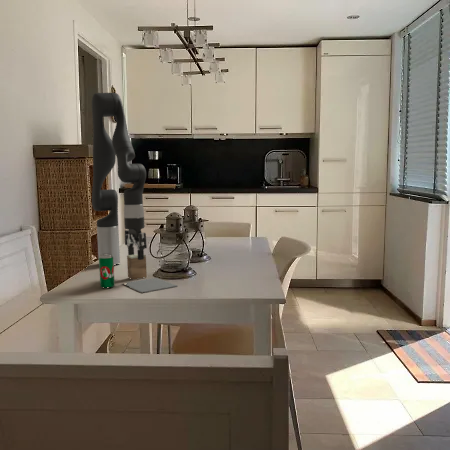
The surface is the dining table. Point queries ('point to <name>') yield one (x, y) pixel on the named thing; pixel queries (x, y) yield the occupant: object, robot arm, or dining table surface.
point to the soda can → (106, 270)
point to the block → (136, 267)
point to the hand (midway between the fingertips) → (136, 258)
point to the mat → (150, 285)
